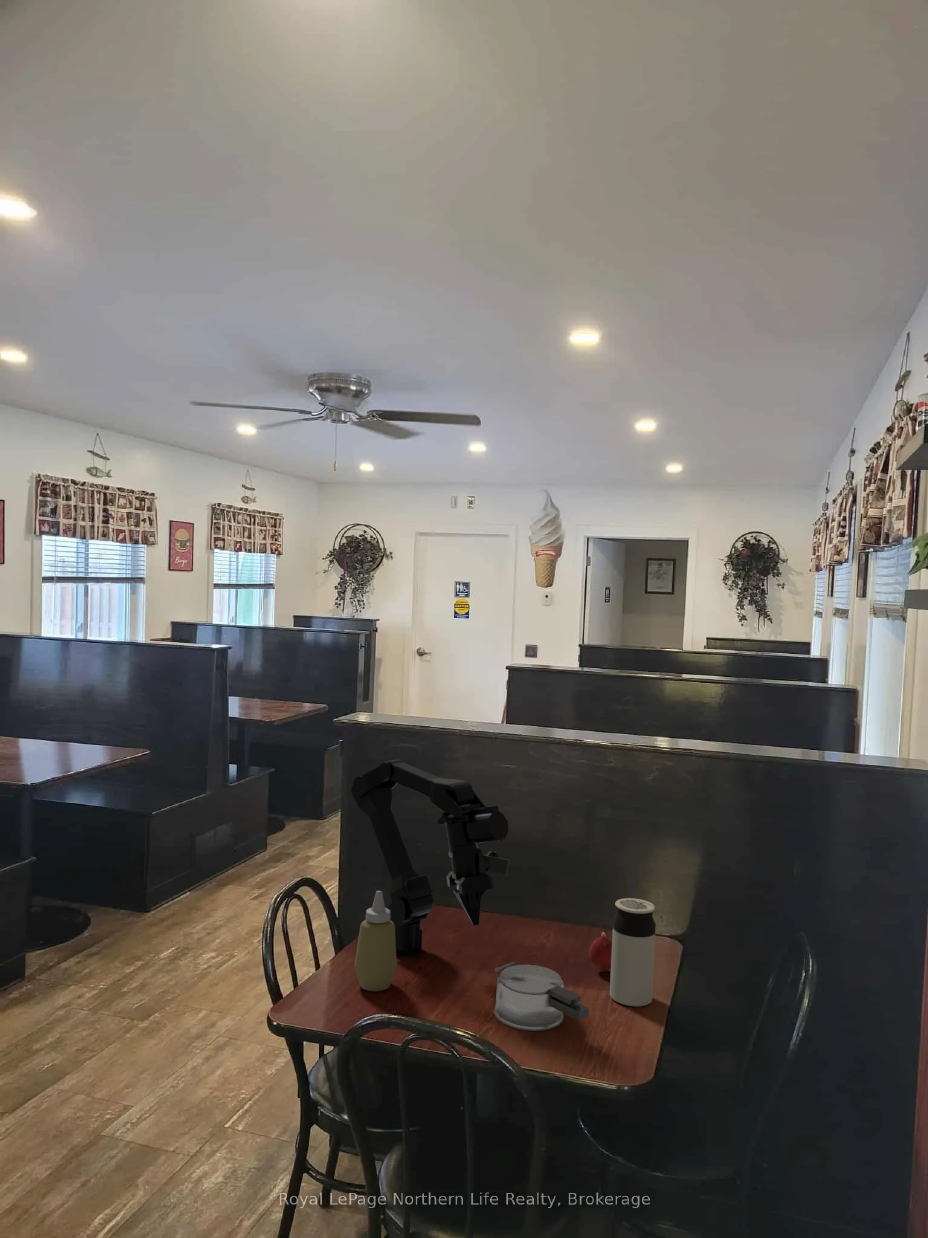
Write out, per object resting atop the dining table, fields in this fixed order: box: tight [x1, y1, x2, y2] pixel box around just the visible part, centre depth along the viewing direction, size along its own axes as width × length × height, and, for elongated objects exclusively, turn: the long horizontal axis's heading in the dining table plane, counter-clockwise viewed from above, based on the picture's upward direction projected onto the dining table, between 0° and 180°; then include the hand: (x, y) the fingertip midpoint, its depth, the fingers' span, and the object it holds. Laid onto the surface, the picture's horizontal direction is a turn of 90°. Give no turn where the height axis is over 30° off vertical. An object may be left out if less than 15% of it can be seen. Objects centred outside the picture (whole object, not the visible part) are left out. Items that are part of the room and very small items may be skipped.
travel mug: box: [609, 897, 657, 1008], centre depth 162 cm, size 8×8×18 cm
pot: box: [494, 973, 590, 1032], centre depth 151 cm, size 19×12×6 cm, turn 42°
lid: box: [493, 961, 582, 1005], centre depth 152 cm, size 18×11×1 cm, turn 42°
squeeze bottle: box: [354, 890, 398, 992], centre depth 163 cm, size 8×8×18 cm
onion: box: [588, 931, 612, 973], centre depth 174 cm, size 6×6×8 cm
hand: (476, 925), depth 168 cm, fingers closed
